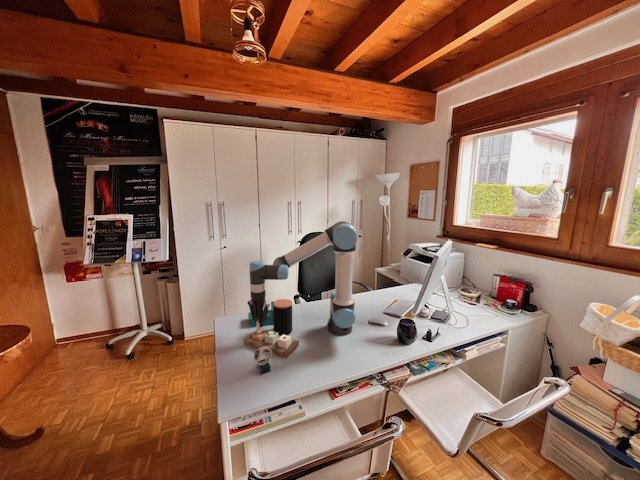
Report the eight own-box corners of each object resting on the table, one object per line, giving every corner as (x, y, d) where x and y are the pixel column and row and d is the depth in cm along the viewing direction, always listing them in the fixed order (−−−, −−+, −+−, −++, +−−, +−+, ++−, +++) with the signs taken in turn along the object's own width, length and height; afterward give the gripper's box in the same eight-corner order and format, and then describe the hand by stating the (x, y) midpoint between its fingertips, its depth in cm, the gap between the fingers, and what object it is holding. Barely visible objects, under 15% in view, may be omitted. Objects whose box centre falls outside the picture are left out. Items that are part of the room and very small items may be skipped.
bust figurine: (252, 369, 119) (252, 347, 117) (269, 363, 124) (269, 342, 122) (257, 376, 115) (256, 354, 113) (274, 370, 119) (273, 348, 117)
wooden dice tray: (299, 345, 138) (299, 340, 137) (286, 359, 127) (286, 353, 126) (258, 334, 148) (258, 329, 148) (244, 345, 138) (244, 340, 137)
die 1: (265, 339, 142) (265, 331, 141) (260, 344, 137) (260, 336, 137) (258, 336, 144) (258, 329, 143) (252, 341, 139) (252, 334, 139)
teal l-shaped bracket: (277, 316, 170) (276, 301, 169) (280, 323, 160) (279, 306, 159) (248, 320, 165) (247, 304, 164) (249, 327, 154) (248, 310, 153)
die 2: (278, 339, 138) (278, 332, 138) (272, 344, 134) (272, 337, 133) (270, 337, 140) (270, 330, 140) (264, 342, 136) (264, 334, 135)
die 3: (291, 343, 135) (291, 336, 134) (286, 348, 131) (286, 341, 130) (283, 341, 137) (283, 333, 136) (277, 346, 133) (277, 338, 132)
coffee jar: (295, 329, 154) (295, 301, 150) (285, 338, 144) (285, 308, 141) (280, 325, 158) (280, 297, 154) (269, 334, 148) (269, 304, 145)
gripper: (272, 289, 136) (273, 331, 140) (252, 285, 141) (254, 326, 146) (263, 295, 129) (265, 338, 134) (243, 290, 135) (245, 332, 139)
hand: (259, 331), depth 140 cm, fingers closed
